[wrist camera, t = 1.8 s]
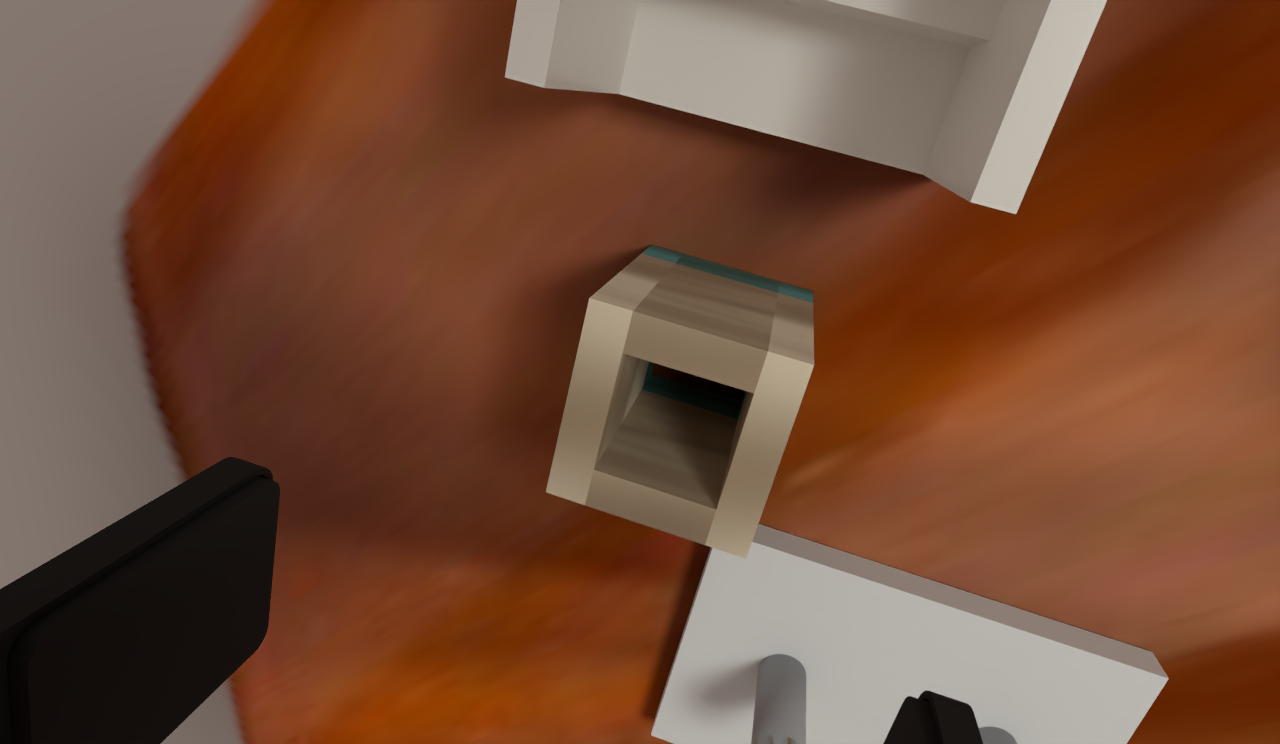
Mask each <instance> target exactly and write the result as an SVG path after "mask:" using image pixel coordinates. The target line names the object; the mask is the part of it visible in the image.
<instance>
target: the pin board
mask: <svg viewBox="0 0 1280 744" xmlns="http://www.w3.org/2000/svg"><path fill="white" fill-rule="evenodd" d="M1168 679H1169V678H1168V677H1167V675H1166V673H1165V672H1164V670H1163V669H1162V667H1161V665H1160V664H1159V662H1158V661H1157V659H1156V658H1155V656H1154V654H1153V653H1152V652H1151V651H1147V650H1144V649H1141V648H1138V647H1135V646H1132V645H1129V644H1126V643H1123V642H1120V641H1117V640H1114V639H1111V638H1108V637H1104V636H1101V635H1098V634H1095V633H1092V632H1089V631H1086V630H1083V629H1080V628H1077V627H1074V626H1071V625H1068V624H1065V623H1061V622H1058V621H1055V620H1052V619H1049V618H1046V617H1043V616H1040V615H1037V614H1034V613H1031V612H1028V611H1025V610H1022V609H1018V608H1015V607H1012V606H1009V605H1006V604H1003V603H1000V602H997V601H994V600H991V599H988V598H985V597H982V596H979V595H975V594H972V593H969V592H966V591H963V590H960V589H957V588H954V587H951V586H948V585H945V584H942V583H939V582H936V581H932V580H929V579H926V578H923V577H920V576H917V575H914V574H911V573H908V572H905V571H902V570H899V569H896V568H893V567H890V566H886V565H883V564H880V563H877V562H874V561H871V560H868V559H865V558H862V557H859V556H856V555H853V554H850V553H847V552H843V551H840V550H837V549H834V548H831V547H828V546H825V545H822V544H819V543H816V542H813V541H810V540H807V539H804V538H800V537H797V536H794V535H791V534H788V533H785V532H782V531H779V530H776V529H773V528H770V527H767V526H764V525H761V524H758V526H757V529H756V532H755V535H754V538H753V540H752V543H751V546H750V549H749V552H748V555H747V557H746V559H745V558H742V557H739V556H736V555H733V554H730V553H727V552H724V551H721V550H718V549H715V548H712V547H711V548H710V551H709V554H708V557H707V560H706V563H705V566H704V569H703V572H702V575H701V578H700V582H699V585H698V588H697V591H696V594H695V597H694V600H693V603H692V606H691V609H690V612H689V615H688V618H687V621H686V624H685V627H684V630H683V633H682V636H681V639H680V642H679V645H678V648H677V651H676V655H675V658H674V661H673V664H672V667H671V670H670V673H669V676H668V679H667V682H666V685H665V688H664V691H663V694H662V697H661V700H660V703H659V706H658V709H657V713H656V717H655V721H654V725H653V728H652V732H651V735H652V736H655V737H658V738H660V739H663V740H666V741H668V742H671V743H674V744H883V743H884V741H885V739H886V737H887V735H888V733H889V731H890V728H891V726H892V724H893V722H894V720H895V718H896V716H897V714H898V712H899V709H900V707H901V705H902V703H903V702H904V700H905V699H906V698H907V697H908V696H912V697H914V698H917V699H918V698H919V696H920V694H921V693H923V692H924V691H927V690H928V691H931V692H934V693H937V694H940V695H943V696H946V697H949V698H952V699H955V700H958V701H961V702H964V703H967V704H969V705H970V706H971V707H972V710H973V712H974V715H975V718H976V721H977V725H978V728H979V731H980V735H981V738H982V741H983V744H1127V742H1128V741H1129V739H1130V738H1131V736H1132V734H1133V733H1134V731H1135V730H1136V728H1137V727H1138V725H1139V724H1140V722H1141V721H1142V719H1143V718H1144V716H1145V714H1146V713H1147V711H1148V710H1149V708H1150V707H1151V705H1152V704H1153V702H1154V701H1155V699H1156V697H1157V696H1158V694H1159V693H1160V691H1161V690H1162V688H1163V687H1164V685H1165V684H1166V682H1167V681H1168Z"/></svg>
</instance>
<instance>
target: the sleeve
mask: <svg viewBox="0 0 1280 744" xmlns="http://www.w3.org/2000/svg"><path fill="white" fill-rule="evenodd" d="M654 363H656V364H659V365H662V366H666V367H669V368H672V369H675V370H679V371H682V372H685V373H689V374H692V375H695V376H698V377H702V378H705V379H708V380H711V381H715V382H718V383H721V384H725V385H728V386H731V387H734V388H738V389H741V390H744V391H745V393H744V396H743V399H742V401H739V400H736V399H732V398H729V397H726V396H723V395H719V394H716V393H713V392H710V391H706V390H703V389H700V388H697V387H693V386H690V385H687V384H684V383H680V382H677V381H674V380H671V379H667V378H664V377H661V376H658V375H654V374H651V373H652V370H653V366H654ZM813 367H814V322H813V291H811V290H807V289H804V288H800V287H797V286H793V285H790V284H786V283H783V282H779V281H776V280H772V279H769V278H766V277H762V276H759V275H755V274H752V273H748V272H745V271H741V270H738V269H734V268H731V267H727V266H724V265H720V264H717V263H713V262H710V261H706V260H703V259H699V258H696V257H693V256H689V255H686V254H682V253H679V252H675V251H672V250H668V249H665V248H661V247H658V246H654V245H651V246H650V247H649V248H647V249H646V250H645V251H644V252H643V253H641V254H640V255H639V256H638V257H637V258H636V259H634V260H633V261H632V262H631V263H630V264H629V265H627V266H626V267H625V268H624V269H623V270H622V271H620V272H619V273H618V274H617V275H616V276H614V277H613V278H612V279H611V280H610V281H609V282H607V283H606V284H605V285H604V286H603V287H602V288H600V289H599V290H598V291H597V292H596V293H595V294H593V295H592V296H591V297H590V298H589V301H588V306H587V310H586V315H585V319H584V324H583V328H582V333H581V337H580V342H579V346H578V351H577V355H576V359H575V364H574V368H573V373H572V377H571V382H570V386H569V391H568V395H567V400H566V404H565V409H564V413H563V417H562V422H561V426H560V431H559V435H558V440H557V444H556V449H555V453H554V458H553V462H552V467H551V471H550V475H549V480H548V484H547V489H546V493H549V494H552V495H555V496H558V497H561V498H564V499H567V500H570V501H573V502H576V503H579V504H582V505H585V506H588V507H591V508H594V509H597V510H600V511H603V512H606V513H609V514H613V515H616V516H619V517H622V518H625V519H628V520H631V521H634V522H637V523H640V524H643V525H646V526H649V527H652V528H655V529H658V530H661V531H664V532H667V533H670V534H673V535H676V536H679V537H682V538H685V539H688V540H691V541H694V542H697V543H700V544H703V545H706V546H709V547H712V548H715V549H718V550H721V551H724V552H727V553H730V554H733V555H736V556H739V557H742V558H745V559H746V557H747V555H748V552H749V549H750V546H751V543H752V540H753V538H754V535H755V532H756V529H757V526H758V523H759V520H760V518H761V515H762V512H763V509H764V506H765V503H766V501H767V498H768V495H769V492H770V489H771V486H772V484H773V481H774V478H775V475H776V472H777V469H778V467H779V464H780V461H781V458H782V455H783V452H784V449H785V447H786V444H787V441H788V438H789V435H790V432H791V430H792V427H793V424H794V421H795V418H796V415H797V413H798V410H799V407H800V404H801V401H802V398H803V396H804V393H805V390H806V387H807V384H808V381H809V378H810V376H811V373H812V370H813Z"/></svg>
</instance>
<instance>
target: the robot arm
mask: <svg viewBox="0 0 1280 744" xmlns="http://www.w3.org/2000/svg"><path fill="white" fill-rule="evenodd" d="M279 496H280V487H279V485H278V483H276V482H275V481H273V476H272V473H271V471H270V470H269V469H267V468H265V467H262V466H259V465H256V464H253V463H250V462H247V461H244V460H241V459H238V458H235V457H228V458H226V459H223V460H221V461H220V462H218V463H216V464H215V465H213V466H211V467H209V468H208V469H206V470H204V471H203V472H201V473H199V474H197V475H196V476H194V477H192V478H190V479H189V480H187V481H185V482H184V483H182V484H180V485H178V486H177V487H175V488H173V489H172V490H170V491H168V492H166V493H165V494H163V495H161V496H160V497H158V498H156V499H155V500H153V501H151V502H149V503H148V504H146V505H144V506H143V507H141V508H139V509H137V510H136V511H134V512H132V513H130V514H129V515H127V516H125V517H124V518H122V519H120V520H118V521H117V522H115V523H113V524H112V525H110V526H108V527H106V528H105V529H103V530H101V531H99V532H98V533H96V534H94V535H93V536H91V537H90V538H87V539H86V540H84V541H82V542H81V543H79V544H77V545H75V546H74V547H72V548H70V549H69V550H67V551H65V552H63V553H62V554H60V555H58V556H57V557H55V558H53V559H51V560H50V561H48V562H46V563H44V564H43V565H41V566H39V567H38V568H36V569H34V570H33V571H31V572H29V573H27V574H26V575H24V576H22V577H21V578H19V579H17V580H15V581H14V582H12V583H10V584H8V585H7V586H5V587H3V588H2V589H0V744H160V743H162V742H163V741H164V740H165V739H166V738H167V736H169V735H170V734H171V733H172V732H173V731H174V730H175V729H176V728H177V727H178V726H179V725H180V724H181V723H182V722H183V721H184V720H185V719H186V718H187V717H188V716H189V715H190V714H191V713H192V712H193V711H194V710H195V709H196V708H197V707H199V706H200V705H201V704H202V703H203V702H204V701H205V700H206V699H207V698H208V697H209V696H210V695H211V694H212V693H213V692H214V691H215V690H216V689H217V688H218V687H219V686H220V685H221V684H222V683H223V682H224V681H225V680H226V679H227V678H228V677H229V676H231V675H232V674H233V673H234V672H235V671H236V670H237V669H238V668H239V667H240V666H241V665H242V664H243V663H244V662H245V661H246V660H247V659H248V658H249V657H250V656H251V655H252V654H253V653H254V652H255V651H256V650H257V649H258V647H259V646H260V644H261V643H262V641H263V639H264V637H265V635H266V632H267V629H268V622H269V611H270V599H271V588H272V576H273V565H274V553H275V542H276V530H277V519H278V507H279ZM883 744H983V741H982V738H981V735H980V731H979V728H978V725H977V721H976V718H975V715H974V712H973V710H972V707H971V706H970V705H969V704H967V703H964V702H961V701H958V700H955V699H952V698H949V697H946V696H943V695H940V694H937V693H934V692H931V691H928V690H927V691H924V692H923V693H921V694H920V696H919V698H918V699H917V698H914V697H912V696H908V697H907V698H906V699H905V700H904V702H903V703H902V705H901V707H900V709H899V712H898V714H897V716H896V718H895V720H894V722H893V724H892V726H891V728H890V731H889V733H888V735H887V737H886V739H885V741H884V743H883Z"/></svg>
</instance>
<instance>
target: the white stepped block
mask: <svg viewBox="0 0 1280 744" xmlns="http://www.w3.org/2000/svg"><path fill="white" fill-rule="evenodd" d="M1106 2H1107V0H517V4H516V10H515V16H514V23H513V29H512V35H511V41H510V47H509V53H508V60H507V66H506V72H505V78H509V79H513V80H516V81H520V82H524V83H528V84H531V85H535V86H539V87H542V88H551V89H563V90H575V91H587V92H599V93H612V94H620V95H624V96H628V97H632V98H636V99H639V100H643V101H647V102H651V103H654V104H658V105H662V106H666V107H669V108H673V109H677V110H681V111H685V112H688V113H692V114H696V115H700V116H703V117H707V118H711V119H715V120H718V121H722V122H726V123H730V124H733V125H737V126H741V127H745V128H749V129H752V130H756V131H760V132H764V133H767V134H771V135H775V136H779V137H782V138H786V139H790V140H794V141H797V142H801V143H805V144H809V145H813V146H816V147H820V148H824V149H828V150H831V151H835V152H839V153H843V154H846V155H850V156H854V157H858V158H862V159H865V160H869V161H873V162H877V163H880V164H884V165H888V166H892V167H895V168H899V169H903V170H907V171H910V172H914V173H918V174H922V175H924V176H926V177H928V178H929V179H931V180H933V181H935V182H936V183H938V184H940V185H942V186H943V187H945V188H947V189H949V190H950V191H952V192H954V193H955V194H957V195H959V196H961V197H962V198H964V199H966V200H968V201H969V202H972V203H976V204H980V205H983V206H987V207H991V208H995V209H998V210H1002V211H1006V212H1009V213H1013V214H1016V213H1017V211H1018V208H1019V206H1020V204H1021V201H1022V199H1023V197H1024V194H1025V192H1026V190H1027V187H1028V185H1029V183H1030V180H1031V178H1032V176H1033V173H1034V171H1035V168H1036V166H1037V164H1038V161H1039V159H1040V157H1041V154H1042V152H1043V150H1044V147H1045V145H1046V143H1047V140H1048V138H1049V136H1050V133H1051V131H1052V128H1053V126H1054V124H1055V121H1056V119H1057V117H1058V114H1059V112H1060V110H1061V107H1062V105H1063V103H1064V100H1065V98H1066V96H1067V93H1068V91H1069V89H1070V86H1071V84H1072V81H1073V79H1074V77H1075V74H1076V72H1077V70H1078V67H1079V65H1080V63H1081V60H1082V58H1083V56H1084V53H1085V51H1086V49H1087V46H1088V44H1089V42H1090V39H1091V37H1092V34H1093V32H1094V30H1095V27H1096V25H1097V23H1098V20H1099V18H1100V16H1101V13H1102V11H1103V9H1104V6H1105V4H1106Z"/></svg>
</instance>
